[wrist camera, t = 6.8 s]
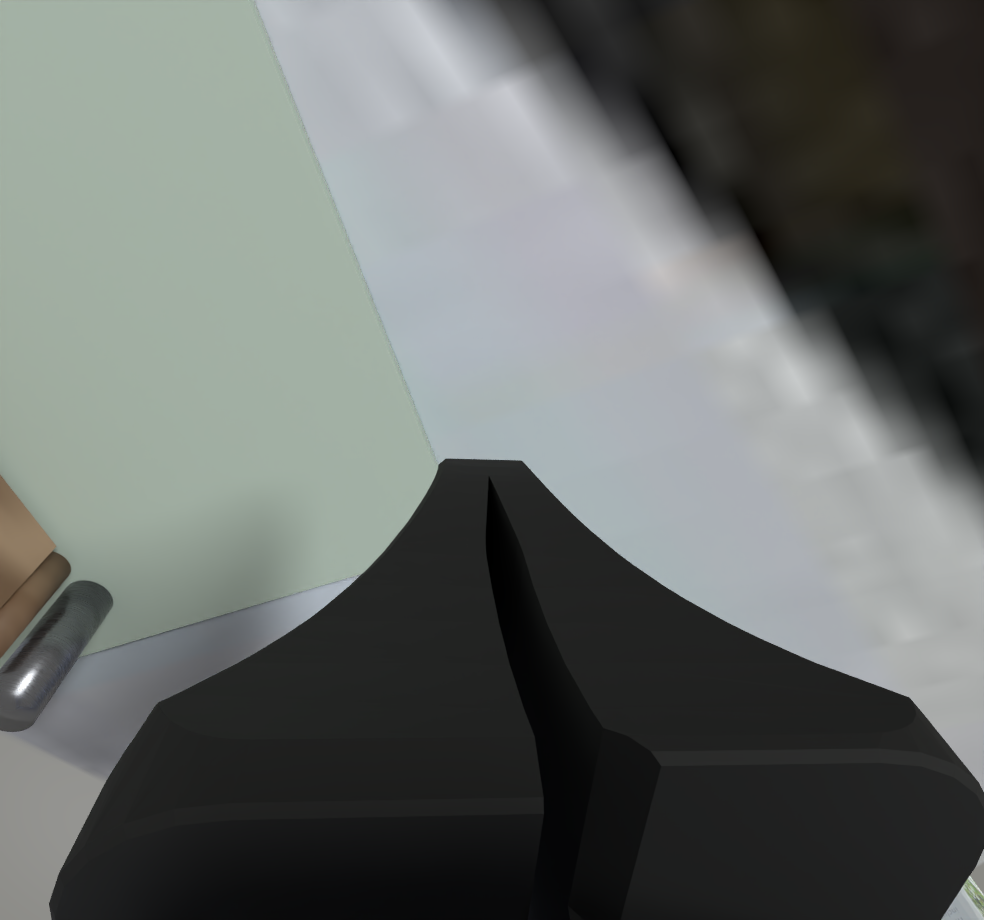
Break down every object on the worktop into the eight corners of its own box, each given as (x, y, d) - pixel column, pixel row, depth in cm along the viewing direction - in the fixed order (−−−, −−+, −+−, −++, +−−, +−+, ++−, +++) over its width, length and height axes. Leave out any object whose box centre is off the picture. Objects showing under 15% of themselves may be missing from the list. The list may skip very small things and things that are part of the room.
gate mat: (465, 533, 23) (465, 543, 23) (9, 668, 25) (-1, 680, 24) (150, -263, 14) (137, -279, 13) (-565, 33, 15) (-601, 30, 15)
